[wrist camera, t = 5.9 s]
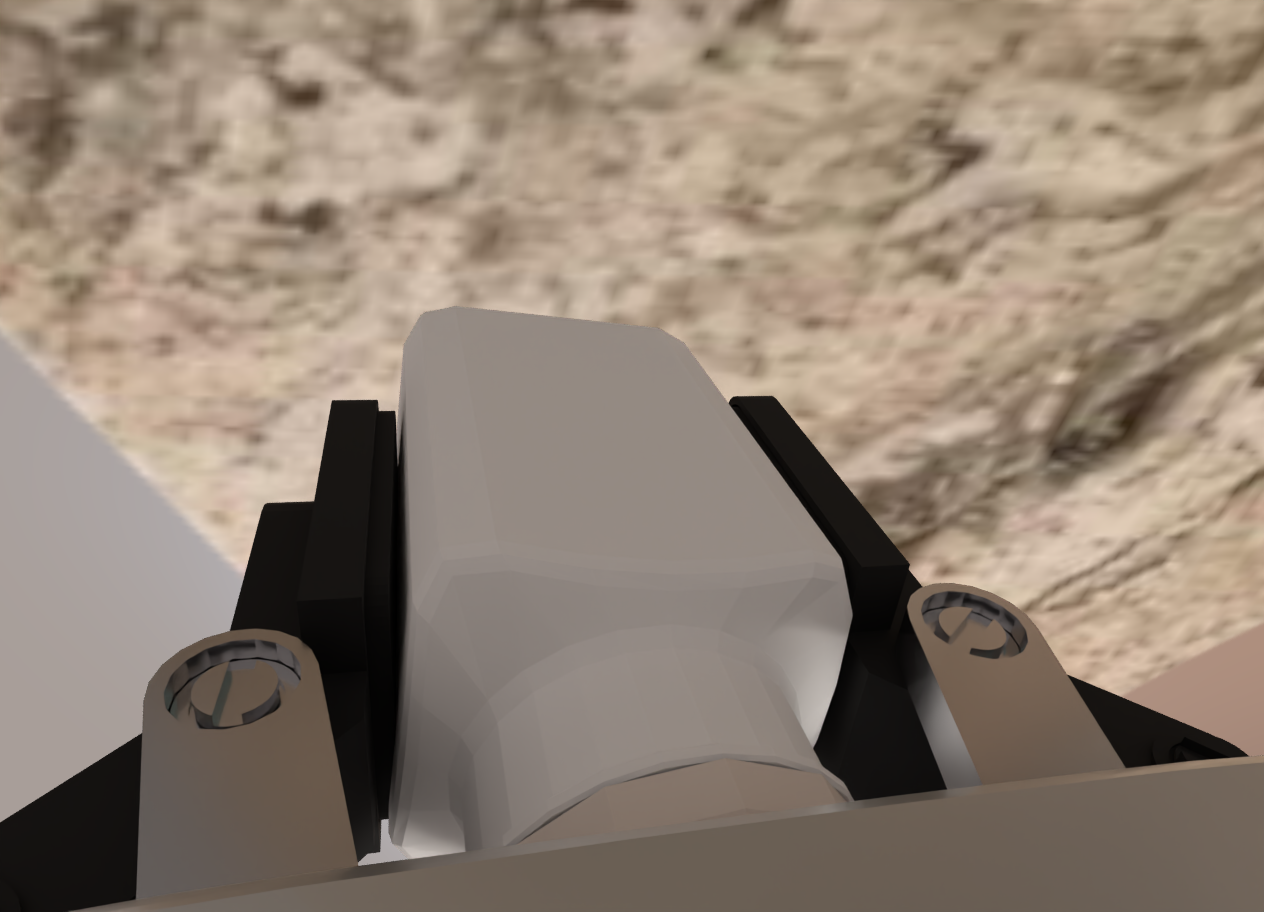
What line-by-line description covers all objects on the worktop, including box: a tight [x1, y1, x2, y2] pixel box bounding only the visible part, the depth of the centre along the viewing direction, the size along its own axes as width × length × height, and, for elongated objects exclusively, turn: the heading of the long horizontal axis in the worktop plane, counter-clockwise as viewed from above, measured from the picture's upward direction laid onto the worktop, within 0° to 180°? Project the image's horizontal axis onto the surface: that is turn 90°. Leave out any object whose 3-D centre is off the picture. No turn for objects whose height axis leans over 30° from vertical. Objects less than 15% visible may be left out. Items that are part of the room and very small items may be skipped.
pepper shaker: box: [389, 306, 854, 859], centre depth 9 cm, size 4×4×10 cm
